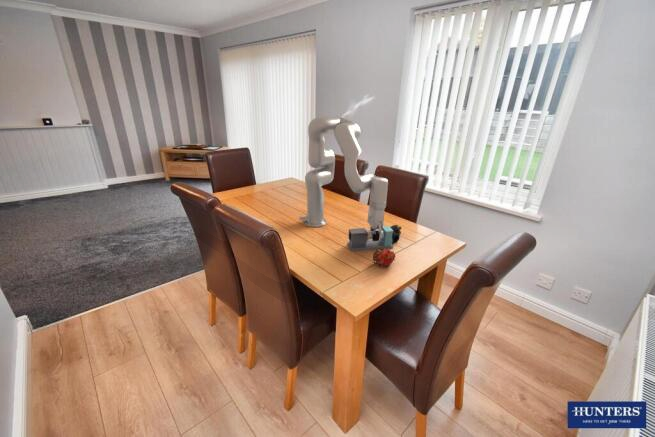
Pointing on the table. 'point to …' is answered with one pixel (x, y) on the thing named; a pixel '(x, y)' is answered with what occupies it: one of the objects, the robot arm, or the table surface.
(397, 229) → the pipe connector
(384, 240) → the socket block
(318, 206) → the robot arm
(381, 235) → the inner tube
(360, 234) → the outer sleeve
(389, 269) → the table surface
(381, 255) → the dragon fruit
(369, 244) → the base board
